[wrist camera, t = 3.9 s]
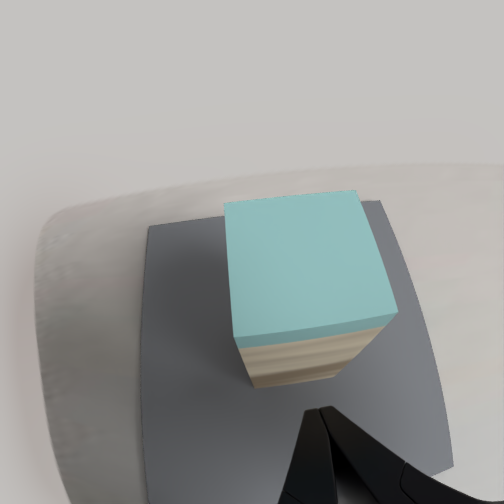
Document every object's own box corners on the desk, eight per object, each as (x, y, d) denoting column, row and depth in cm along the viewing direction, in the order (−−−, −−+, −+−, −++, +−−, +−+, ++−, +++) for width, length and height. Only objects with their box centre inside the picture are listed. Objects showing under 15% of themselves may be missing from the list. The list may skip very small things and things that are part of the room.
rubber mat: (449, 465, 11) (453, 466, 11) (153, 513, 11) (150, 515, 11) (378, 204, 21) (379, 200, 20) (151, 230, 21) (149, 226, 20)
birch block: (333, 376, 14) (398, 312, 7) (254, 388, 14) (233, 337, 7) (319, 306, 17) (355, 190, 9) (246, 315, 17) (223, 203, 9)
